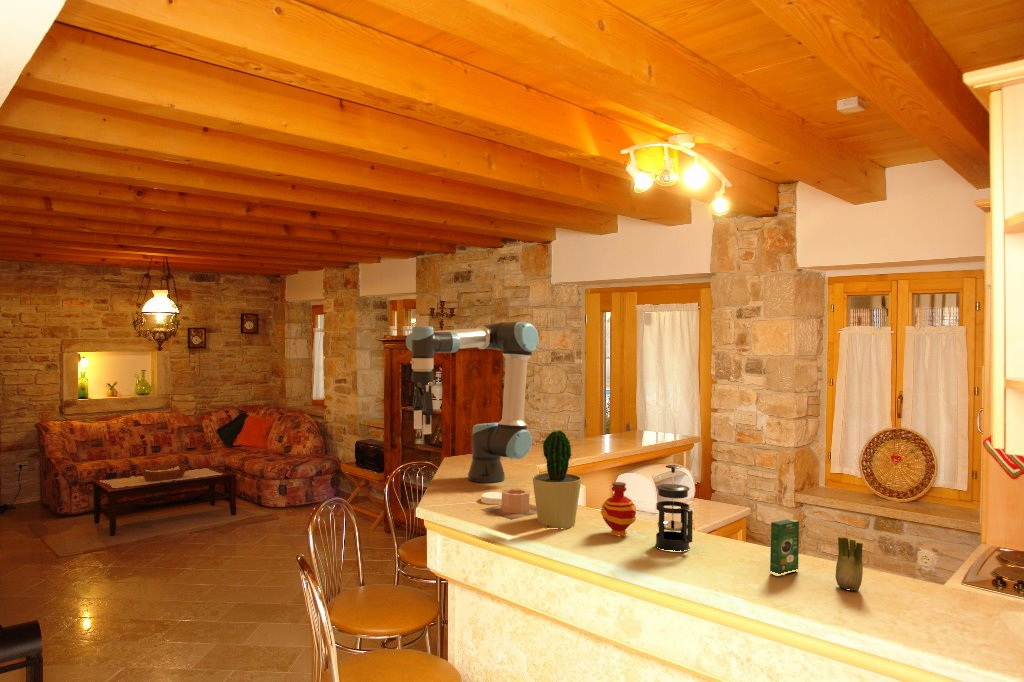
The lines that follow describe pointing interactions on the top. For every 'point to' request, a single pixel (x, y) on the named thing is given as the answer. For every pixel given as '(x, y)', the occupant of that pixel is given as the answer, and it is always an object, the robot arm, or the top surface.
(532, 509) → the board
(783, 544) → the coffee box
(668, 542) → the french press
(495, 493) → the cream flat cylinder
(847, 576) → the fennel bulb
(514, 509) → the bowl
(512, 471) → the top surface
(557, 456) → the potted cactus
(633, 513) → the potion bottle
